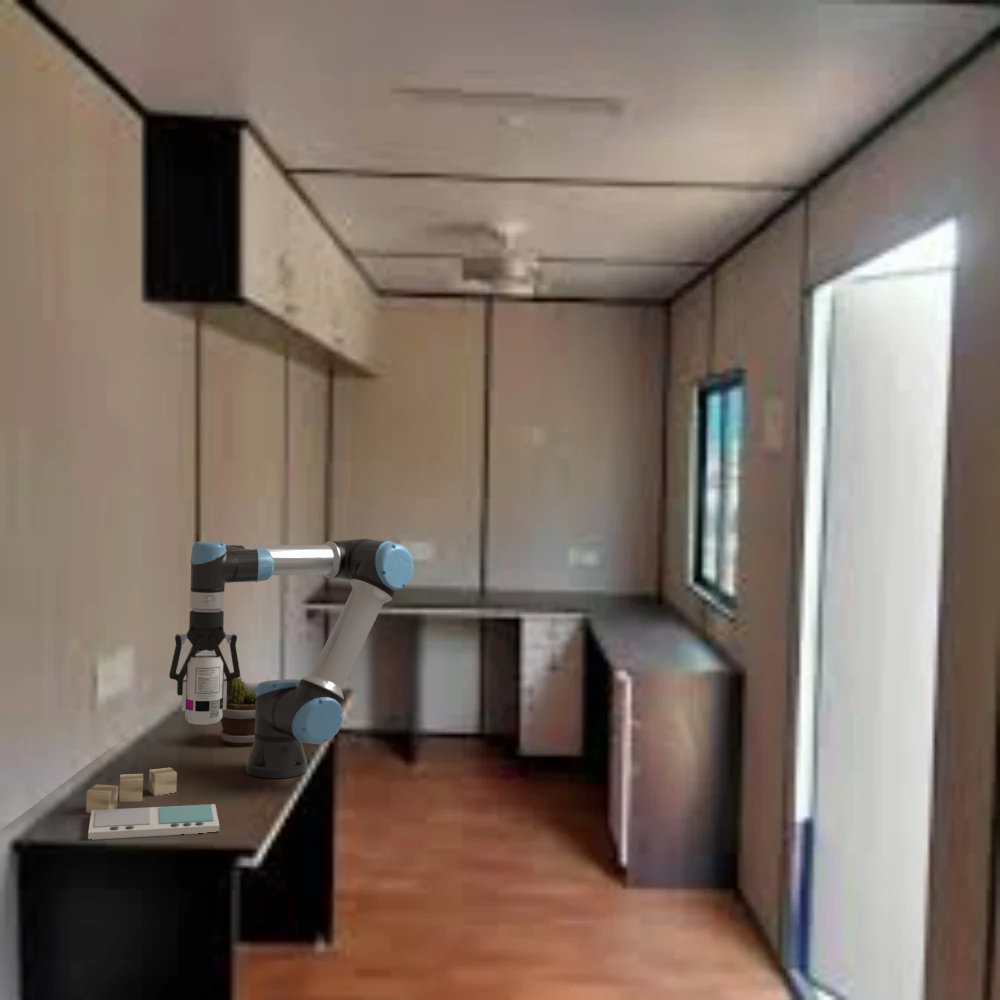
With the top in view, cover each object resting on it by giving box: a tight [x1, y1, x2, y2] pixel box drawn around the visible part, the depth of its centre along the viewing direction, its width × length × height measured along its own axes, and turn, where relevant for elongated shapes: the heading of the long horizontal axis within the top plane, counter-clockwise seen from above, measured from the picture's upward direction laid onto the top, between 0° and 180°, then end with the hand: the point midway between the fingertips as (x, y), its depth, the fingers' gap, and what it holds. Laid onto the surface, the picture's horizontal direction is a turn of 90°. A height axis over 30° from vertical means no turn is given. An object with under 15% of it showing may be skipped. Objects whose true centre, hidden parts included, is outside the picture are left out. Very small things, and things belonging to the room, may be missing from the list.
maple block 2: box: [118, 773, 144, 803], centre depth 256 cm, size 5×5×5 cm
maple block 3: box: [148, 767, 178, 797], centre depth 262 cm, size 5×5×5 cm
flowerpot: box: [220, 676, 256, 747], centre depth 311 cm, size 14×15×20 cm
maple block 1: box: [85, 784, 119, 813], centre depth 247 cm, size 5×5×5 cm
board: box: [87, 803, 220, 841], centre depth 239 cm, size 15×26×2 cm, turn 108°
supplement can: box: [184, 652, 225, 726], centre depth 255 cm, size 8×8×15 cm
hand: (203, 708), depth 255 cm, fingers closed on supplement can, 8 cm apart
